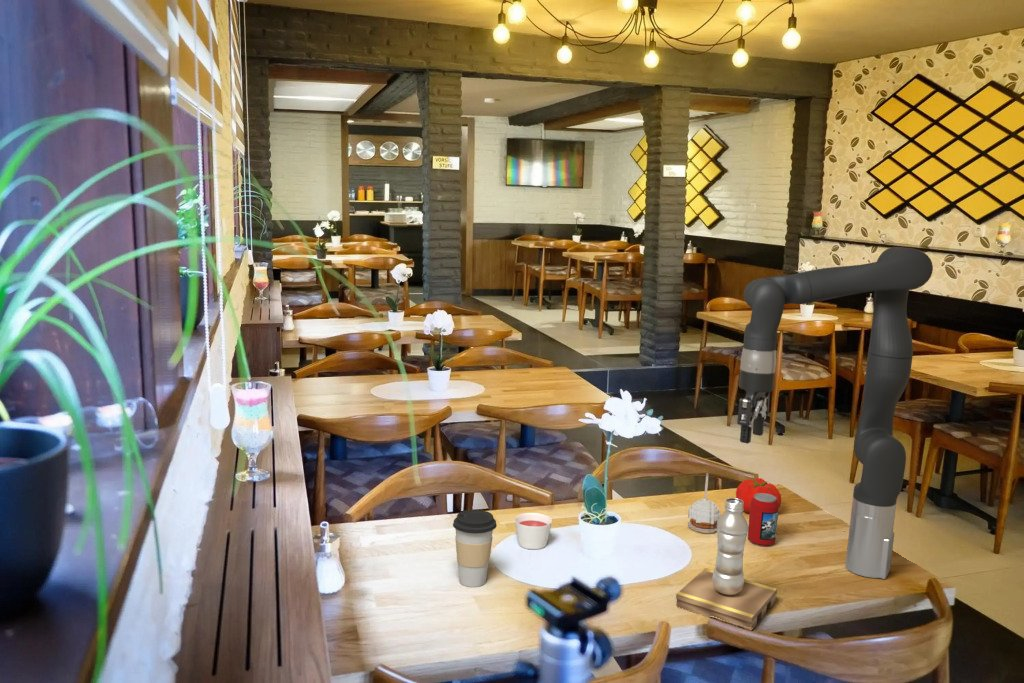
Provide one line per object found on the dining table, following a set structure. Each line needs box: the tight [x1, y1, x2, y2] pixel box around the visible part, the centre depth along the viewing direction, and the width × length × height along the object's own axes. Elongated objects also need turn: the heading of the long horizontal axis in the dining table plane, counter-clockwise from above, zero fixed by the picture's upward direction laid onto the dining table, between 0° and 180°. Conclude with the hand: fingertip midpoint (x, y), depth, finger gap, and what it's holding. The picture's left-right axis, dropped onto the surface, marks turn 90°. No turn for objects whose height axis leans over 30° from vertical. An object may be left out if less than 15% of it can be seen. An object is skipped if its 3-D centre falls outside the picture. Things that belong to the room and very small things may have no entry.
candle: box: [514, 512, 553, 550], centre depth 201 cm, size 9×9×6 cm
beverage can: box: [747, 493, 780, 547], centre depth 206 cm, size 7×7×12 cm
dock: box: [675, 567, 778, 629], centre depth 173 cm, size 16×16×3 cm
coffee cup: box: [452, 509, 498, 588], centre depth 179 cm, size 9×9×15 cm
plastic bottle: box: [712, 497, 749, 595], centre depth 171 cm, size 6×7×20 cm
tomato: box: [735, 477, 782, 514], centre depth 228 cm, size 13×12×8 cm
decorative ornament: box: [687, 473, 721, 534], centre depth 214 cm, size 8×8×15 cm
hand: (751, 438), depth 187 cm, fingers open, 8 cm apart
